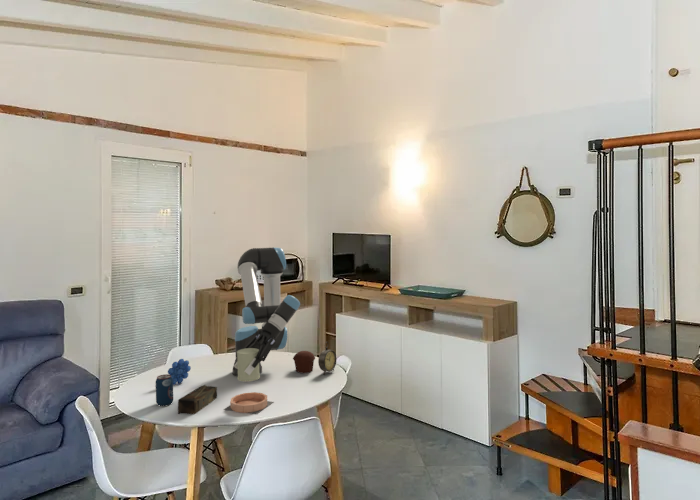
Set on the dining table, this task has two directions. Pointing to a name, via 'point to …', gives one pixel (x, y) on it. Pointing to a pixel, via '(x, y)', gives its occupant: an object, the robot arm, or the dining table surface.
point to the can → (247, 364)
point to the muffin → (304, 361)
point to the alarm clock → (327, 360)
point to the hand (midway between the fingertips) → (241, 370)
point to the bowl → (248, 402)
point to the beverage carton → (197, 399)
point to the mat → (252, 412)
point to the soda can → (164, 390)
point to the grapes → (179, 371)
